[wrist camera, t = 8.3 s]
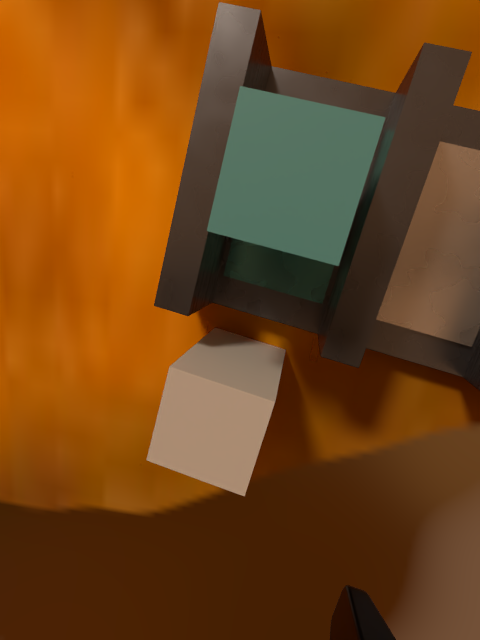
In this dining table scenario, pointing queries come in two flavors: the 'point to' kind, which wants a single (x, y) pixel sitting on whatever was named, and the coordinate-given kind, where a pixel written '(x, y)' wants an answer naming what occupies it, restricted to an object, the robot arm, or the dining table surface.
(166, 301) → the slot rack
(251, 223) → the teal plug
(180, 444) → the off-white plug
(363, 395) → the dining table surface
